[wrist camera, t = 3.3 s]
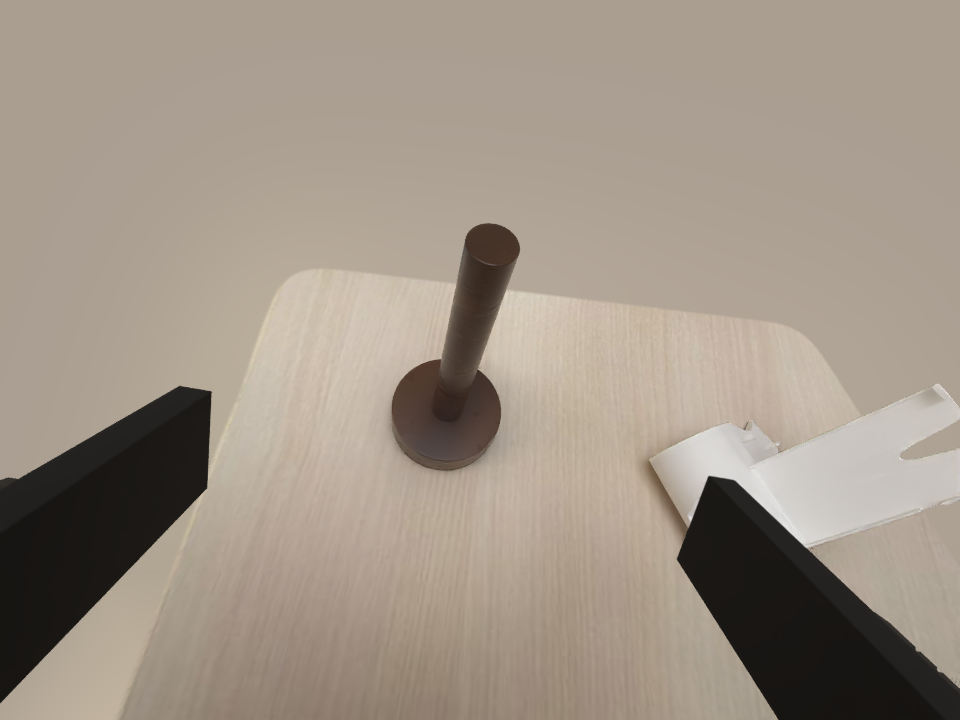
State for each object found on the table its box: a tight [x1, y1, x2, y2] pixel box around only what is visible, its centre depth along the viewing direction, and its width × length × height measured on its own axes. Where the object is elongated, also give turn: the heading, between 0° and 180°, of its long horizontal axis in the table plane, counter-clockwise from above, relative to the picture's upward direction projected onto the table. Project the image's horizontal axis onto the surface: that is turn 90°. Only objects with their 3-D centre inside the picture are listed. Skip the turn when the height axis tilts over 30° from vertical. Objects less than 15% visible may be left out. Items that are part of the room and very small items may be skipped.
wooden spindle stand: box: [392, 223, 520, 470], centre depth 22 cm, size 6×6×16 cm
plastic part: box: [649, 383, 960, 548], centre depth 25 cm, size 8×10×12 cm
